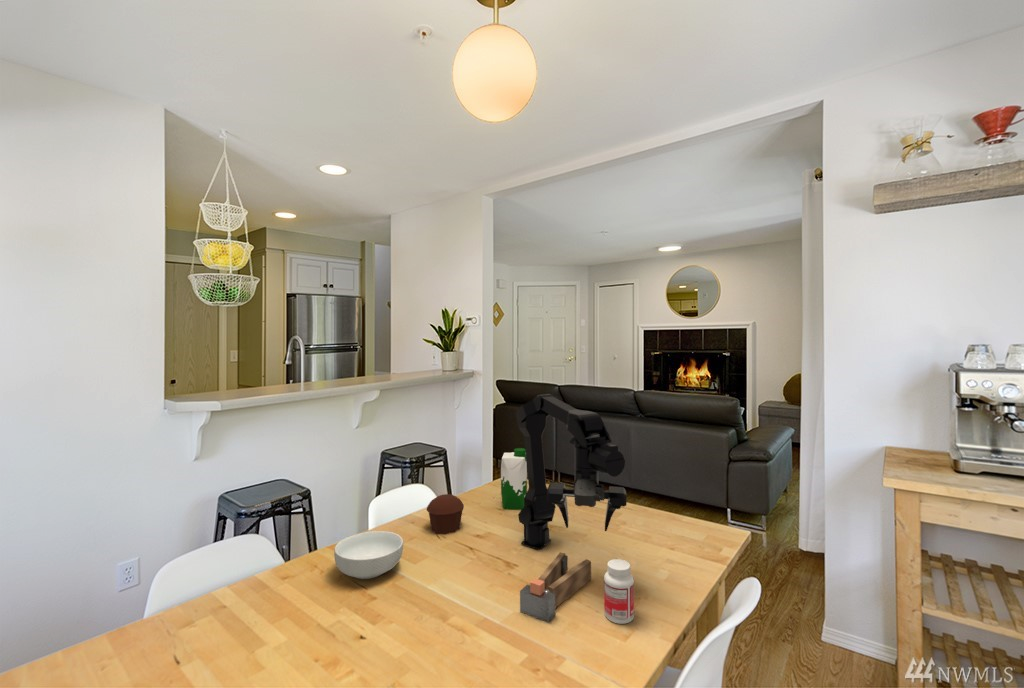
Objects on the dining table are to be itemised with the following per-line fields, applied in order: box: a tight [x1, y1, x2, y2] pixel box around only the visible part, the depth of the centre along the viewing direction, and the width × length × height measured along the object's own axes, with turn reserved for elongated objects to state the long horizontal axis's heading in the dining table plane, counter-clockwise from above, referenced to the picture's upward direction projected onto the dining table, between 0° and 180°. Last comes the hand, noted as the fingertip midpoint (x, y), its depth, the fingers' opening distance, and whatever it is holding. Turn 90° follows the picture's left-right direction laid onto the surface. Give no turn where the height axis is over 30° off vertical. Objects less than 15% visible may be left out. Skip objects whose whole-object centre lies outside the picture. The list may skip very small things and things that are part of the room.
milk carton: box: [500, 447, 528, 511], centre depth 160 cm, size 9×9×20 cm
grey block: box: [519, 584, 556, 623], centre depth 98 cm, size 7×4×5 cm, turn 57°
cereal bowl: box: [333, 530, 404, 580], centre depth 116 cm, size 17×17×7 cm
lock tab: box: [529, 577, 545, 596], centre depth 97 cm, size 2×2×2 cm
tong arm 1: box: [538, 551, 569, 590], centre depth 108 cm, size 16×2×4 cm, turn 154°
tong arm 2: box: [548, 558, 592, 609], centre depth 105 cm, size 16×2×4 cm, turn 140°
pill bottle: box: [603, 558, 635, 625], centre depth 96 cm, size 6×6×11 cm
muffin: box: [426, 493, 465, 535], centre depth 141 cm, size 12×11×10 cm
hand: (586, 528), depth 111 cm, fingers open, 9 cm apart
